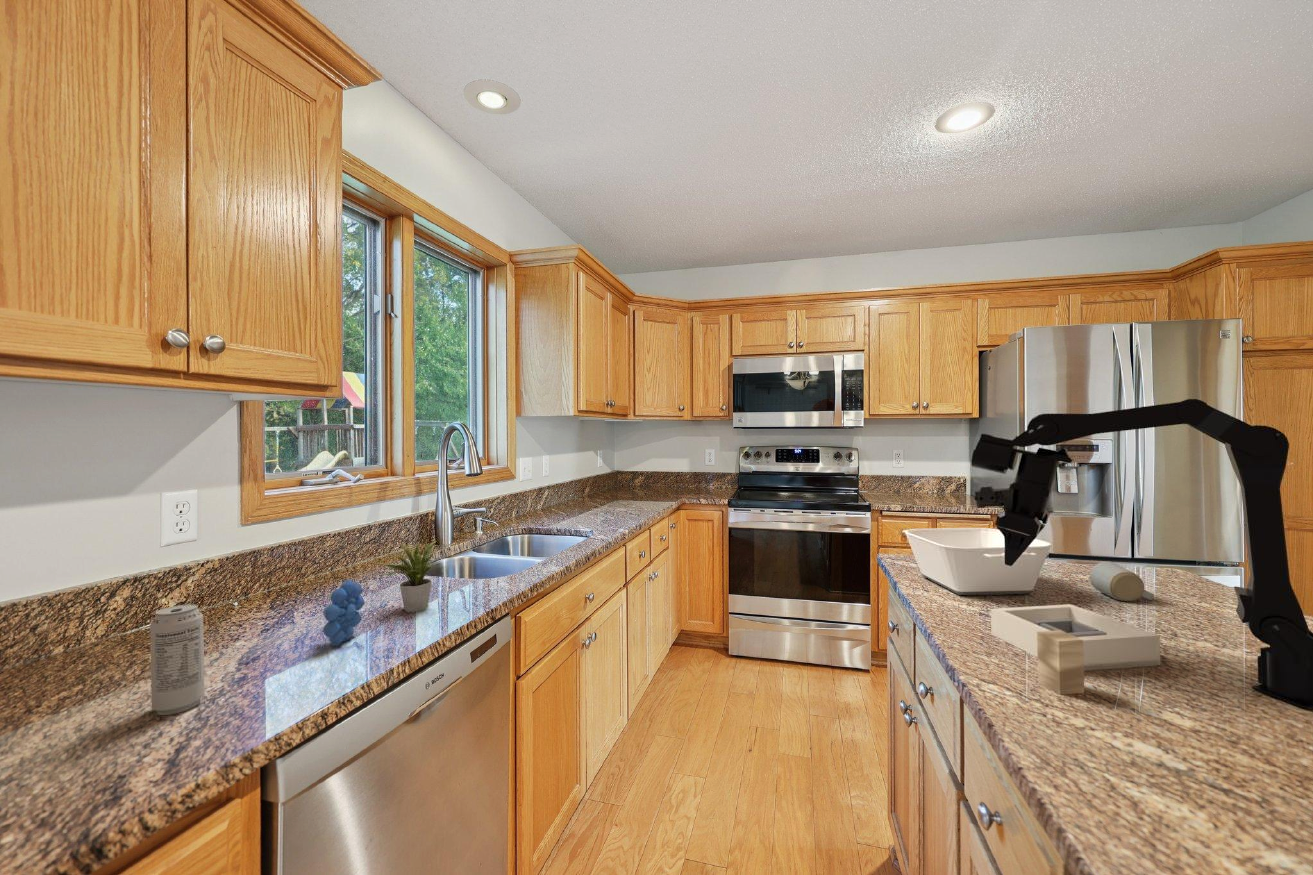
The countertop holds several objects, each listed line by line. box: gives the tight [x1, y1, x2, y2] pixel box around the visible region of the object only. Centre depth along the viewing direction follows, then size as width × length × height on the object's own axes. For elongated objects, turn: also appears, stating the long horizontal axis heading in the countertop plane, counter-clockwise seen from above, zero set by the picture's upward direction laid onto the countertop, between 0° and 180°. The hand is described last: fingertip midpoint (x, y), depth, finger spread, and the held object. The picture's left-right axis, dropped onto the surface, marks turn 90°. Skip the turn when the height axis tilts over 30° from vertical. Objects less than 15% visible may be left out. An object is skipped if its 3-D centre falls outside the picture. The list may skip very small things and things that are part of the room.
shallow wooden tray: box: [990, 603, 1161, 672], centre depth 96 cm, size 17×17×5 cm
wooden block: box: [1037, 630, 1085, 696], centre depth 82 cm, size 4×4×8 cm
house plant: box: [379, 540, 443, 613], centre depth 129 cm, size 14×14×16 cm
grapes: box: [322, 579, 366, 646], centre depth 108 cm, size 12×7×12 cm, turn 179°
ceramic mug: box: [1089, 561, 1155, 602], centre depth 125 cm, size 11×8×8 cm
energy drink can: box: [149, 603, 205, 716], centre depth 82 cm, size 6×6×15 cm
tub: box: [904, 527, 1052, 596], centre depth 137 cm, size 34×27×13 cm
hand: (1012, 560), depth 100 cm, fingers open, 9 cm apart
